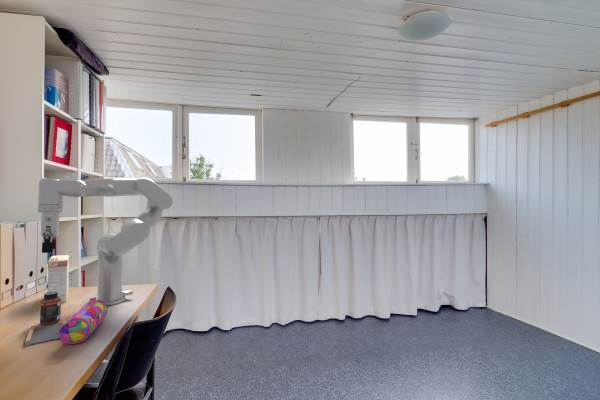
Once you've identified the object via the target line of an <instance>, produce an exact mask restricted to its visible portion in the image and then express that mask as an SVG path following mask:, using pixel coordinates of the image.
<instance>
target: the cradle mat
mask: <svg viewBox="0 0 600 400" xmlns="http://www.w3.org/2000/svg"><path fill="white" fill-rule="evenodd" d="M67 321H68V319H63V321H62V323H55V324H50V325H45V326H40V327H36V328H35V325H30V327H29V331H28V333H27V336H26V338H25V342H24V347H29V346H33V345H37V344H42V343H47V342H52V341H56V340H61V338H60V335H59V329H60V327H61V326H62V325H63V324H64V323H65V322H67Z"/></svg>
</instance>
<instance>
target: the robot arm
mask: <svg viewBox="0 0 600 400" xmlns="http://www.w3.org/2000/svg"><path fill="white" fill-rule="evenodd" d="M128 196H129V197H130V196H131V197H132V196H144V197H145V198H146V199H147V202H146V203H147V204H146V208H145V210H143V212H141V213H140V214H138V215H137V216H135V217H133V218H132V219H130V220H129V221H127V222H126V223H124V224H123V225H122V227H121V229H120V232H119V233H112V232H111V233H106V234H104V235H102V236H101V237H100V238H98V241H97V245H96V251H97V263H98V264H97V285H96V286H97V287H96V288H97V290H96V291H97V293H96V296H97V297H96V300H101V301H103V302H104V303H105V305H106V307H107V306H112V305H117V304H120V303H123V302H124V301H126V296H133V295H134V290H129V289H128V290H123V255H125V254H127V253H128V252H130V251H132V250H133V249H135V248H136V247H137V246H139V245H141V244H142V243H143V242H144V241H145V240H146V239H148V237H149V235H150V233H151V228H153V227H154V226H155V225H156V224H158V222H160V220H161V218H162V215H163V211H164V210H169V209H170V208H171V207H172V206H173V204H174V200H173V196H172V195H171V194H170V193H168V192H167V191H166V190H165V189H164V188H162V187H161V186H160V185H159V184H158V183H156V182H155V181H154V180H152V179H150V178H148V177H140V178H139V177H137V178H136V177H135V178H134V177H133V178H132V177H131V178H122V177H121V178H117V177H116V178H115V177H114V178H103V179H95V180H94V179H91V180H90V179H88V180H79V179H58V178H57V179H56V178H41V179H39V182H38V196H37V197H38V200H37V201H38V203H37V213H39V214H41V221H40V226H41V227H40V231H41V232H40V235H41V237H42V242H41V243H42V244H41V254H47V253H48V254H49V253H53V251H54V249H56V238H57V237H58V236H59V235H60V213H63V200H64V199H63V198H64V197H68V198H81V197H84V198H85V197H107V198H108V197H109V198H110V197H128Z"/></svg>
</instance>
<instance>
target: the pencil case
mask: <svg viewBox="0 0 600 400" xmlns="http://www.w3.org/2000/svg"><path fill="white" fill-rule="evenodd" d="M96 299H97V297H92V298H91V297H90V298H89V301H88V302H86V303H84V305H82V306H81V308H80V309H79V311H77V312H76V313H75V314H74V315H73V316H72V317H71V318H69V319H67V322H65V323H64V324H63V325H62V326H61V327H60V329H59V335H60V338H61V339H60V340H61V341H62V342H64V343H65V344H68V345H77V344H81V343H83V342H85V341H86V340H87V339H88V338H89V337H90V335H92V334H93V332H94V331H95V330H96V328H97V327H99V325H100V324H101V323H102V321H103V320H104V319H105V317H106V315H107V313H108V310H107V306H106V305H105V303H104V302H103V301H101V300H96Z"/></svg>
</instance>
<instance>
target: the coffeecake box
mask: <svg viewBox="0 0 600 400" xmlns="http://www.w3.org/2000/svg"><path fill="white" fill-rule="evenodd" d="M69 261H70V255H69V254H64V255H61V254H60V255H52V256H51V257H50V258H49V260H48V261H47V265H48V267H47V269H48V270H47V275H48V276H47V293H48V292H54V291H56V292H58V297H60V298H61V303H66V302H67V301H68V296H69V274H70V273H69V271H70V270H69V268H70V266H69V264H70V262H69Z"/></svg>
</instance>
